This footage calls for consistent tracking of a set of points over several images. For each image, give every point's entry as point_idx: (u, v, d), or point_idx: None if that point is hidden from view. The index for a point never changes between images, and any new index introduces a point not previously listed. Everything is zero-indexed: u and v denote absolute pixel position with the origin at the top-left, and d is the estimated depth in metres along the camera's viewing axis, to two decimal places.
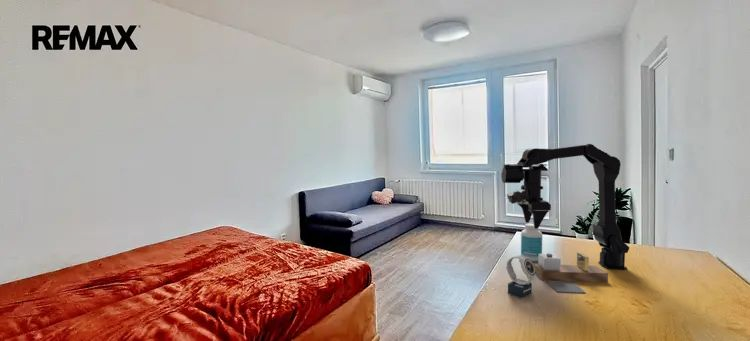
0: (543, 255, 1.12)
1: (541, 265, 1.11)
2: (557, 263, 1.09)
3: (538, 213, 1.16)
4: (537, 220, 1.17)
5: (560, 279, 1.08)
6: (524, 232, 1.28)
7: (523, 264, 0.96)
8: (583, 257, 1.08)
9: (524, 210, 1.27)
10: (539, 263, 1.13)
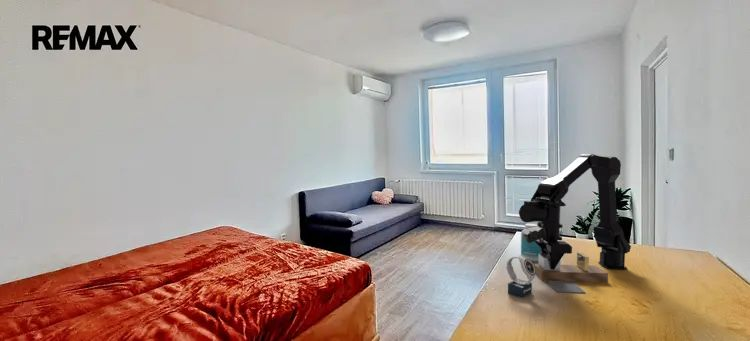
0: (543, 255, 1.12)
1: (541, 265, 1.11)
2: None
3: (555, 253, 1.07)
4: (554, 261, 1.07)
5: (560, 279, 1.08)
6: None
7: (523, 264, 0.96)
8: (583, 257, 1.08)
9: (542, 250, 1.14)
10: (539, 263, 1.13)
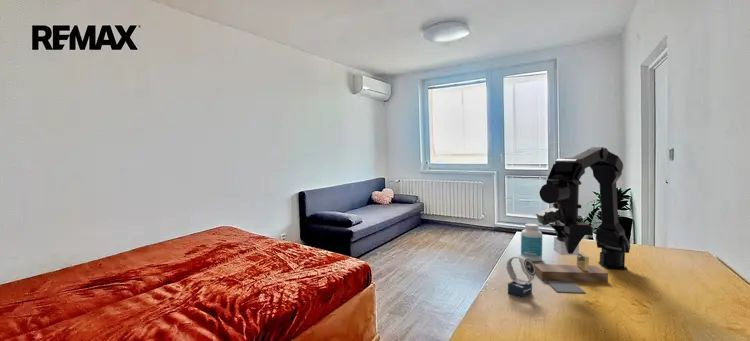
0: (559, 239, 1.03)
1: (557, 249, 1.02)
2: None
3: (573, 236, 0.98)
4: (572, 244, 0.98)
5: (560, 279, 1.08)
6: (524, 232, 1.28)
7: (523, 264, 0.96)
8: (583, 257, 1.08)
9: (558, 233, 1.05)
10: (555, 247, 1.04)
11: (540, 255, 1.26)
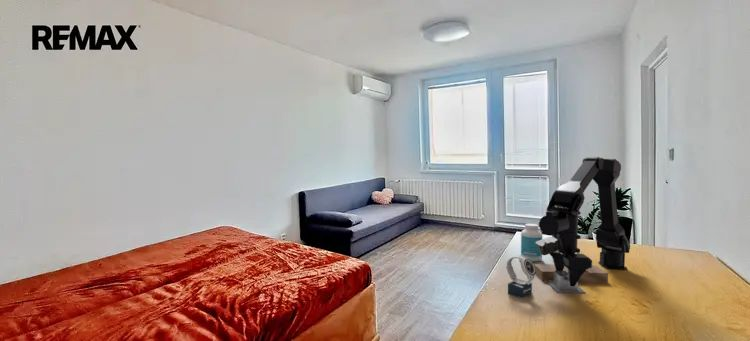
0: (559, 272, 1.03)
1: (557, 283, 1.03)
2: None
3: (575, 269, 0.97)
4: (574, 277, 0.97)
5: None
6: (524, 232, 1.28)
7: (523, 264, 0.96)
8: None
9: (555, 260, 1.07)
10: (554, 281, 1.05)
11: (540, 255, 1.26)
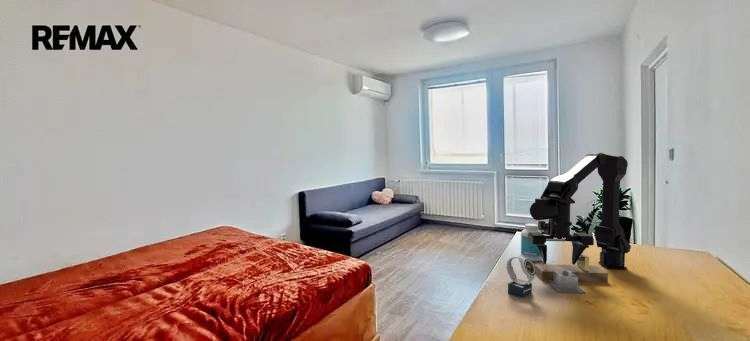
0: (559, 272, 1.03)
1: (557, 283, 1.03)
2: (574, 282, 1.00)
3: None
4: (541, 254, 1.11)
5: None
6: (524, 232, 1.28)
7: (523, 264, 0.96)
8: (583, 257, 1.08)
9: (573, 249, 1.11)
10: (554, 281, 1.05)
11: (540, 255, 1.26)
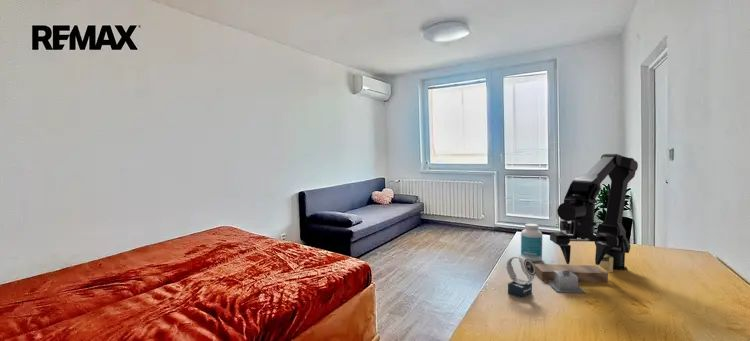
0: (559, 272, 1.03)
1: (557, 283, 1.03)
2: (574, 282, 1.00)
3: None
4: (564, 254, 1.11)
5: None
6: (524, 232, 1.28)
7: (523, 264, 0.96)
8: (607, 258, 1.08)
9: (596, 250, 1.10)
10: (554, 281, 1.05)
11: (540, 255, 1.26)
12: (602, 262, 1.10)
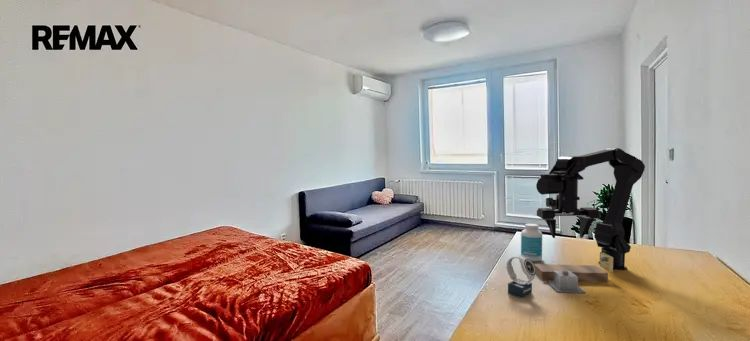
0: (559, 272, 1.03)
1: (557, 283, 1.03)
2: (574, 282, 1.00)
3: None
4: (550, 229, 1.16)
5: None
6: (524, 232, 1.28)
7: (523, 264, 0.96)
8: (607, 258, 1.08)
9: (580, 223, 1.16)
10: (554, 281, 1.05)
11: (540, 255, 1.26)
12: (602, 262, 1.10)
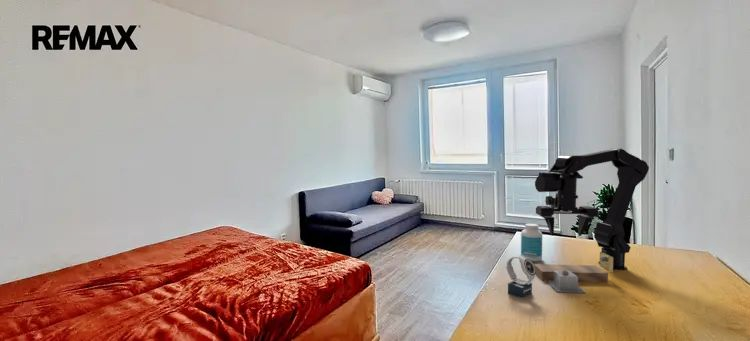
0: (559, 272, 1.03)
1: (557, 283, 1.03)
2: (574, 282, 1.00)
3: (549, 219, 1.18)
4: (548, 226, 1.18)
5: None
6: (524, 232, 1.28)
7: (523, 264, 0.96)
8: (607, 258, 1.08)
9: (579, 222, 1.18)
10: (554, 281, 1.05)
11: (540, 255, 1.26)
12: (602, 262, 1.10)
